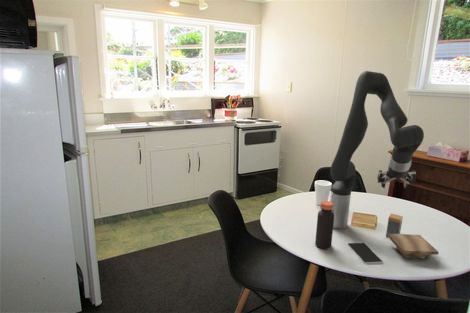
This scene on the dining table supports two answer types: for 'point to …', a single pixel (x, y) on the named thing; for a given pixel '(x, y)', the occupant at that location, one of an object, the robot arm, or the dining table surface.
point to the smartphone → (364, 253)
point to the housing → (394, 224)
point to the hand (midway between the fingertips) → (394, 186)
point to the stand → (412, 245)
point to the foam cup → (322, 191)
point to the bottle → (325, 225)
